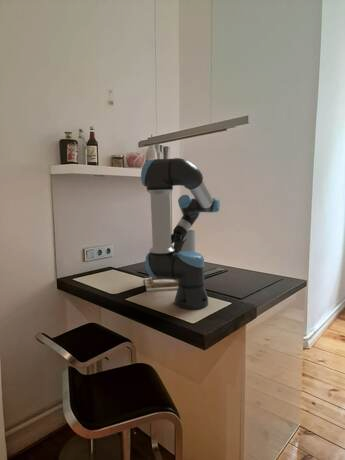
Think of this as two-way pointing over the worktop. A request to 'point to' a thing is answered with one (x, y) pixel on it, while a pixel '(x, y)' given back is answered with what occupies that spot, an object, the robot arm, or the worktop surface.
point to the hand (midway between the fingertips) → (160, 260)
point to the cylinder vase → (189, 242)
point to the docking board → (160, 284)
